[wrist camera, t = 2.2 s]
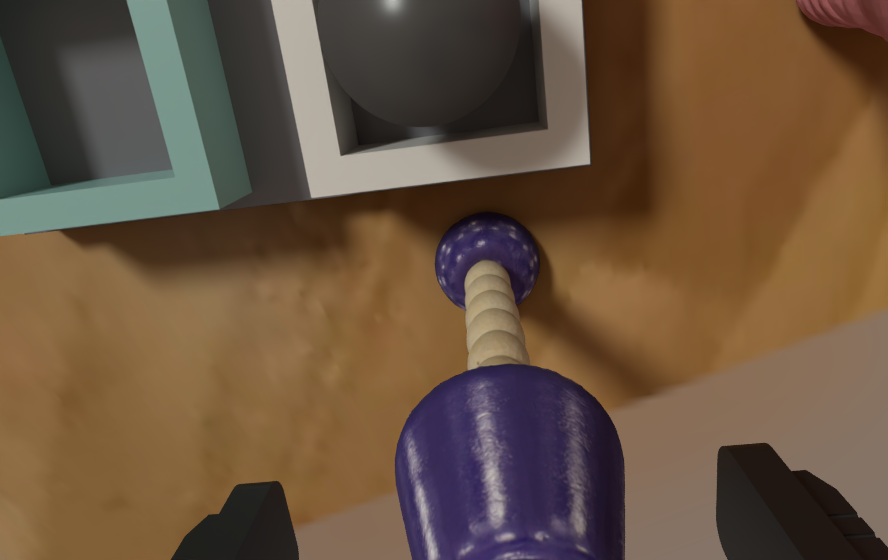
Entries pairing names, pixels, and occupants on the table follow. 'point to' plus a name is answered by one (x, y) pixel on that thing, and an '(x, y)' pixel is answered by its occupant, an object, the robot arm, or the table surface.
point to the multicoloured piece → (276, 102)
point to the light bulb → (849, 14)
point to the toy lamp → (506, 428)
